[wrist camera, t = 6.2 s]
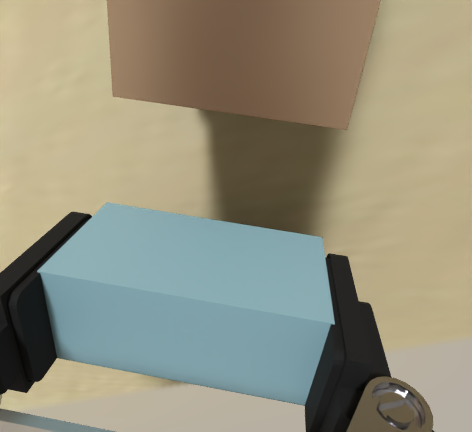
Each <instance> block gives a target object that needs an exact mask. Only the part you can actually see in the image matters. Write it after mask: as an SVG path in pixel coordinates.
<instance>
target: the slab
mask: <svg viewBox="0 0 472 432" xmlns="http://www.w3.org/2000/svg"><path fill="white" fill-rule="evenodd" d="M380 2H381V0H107V9H108V25H109V42H110V58H111V75H112V91H113V97H120V98H127V99H134V100H141V101H148V102H155V103H162V104H169V105H176V106H183V107H190V108H197V109H204V110H211V111H218V112H225V113H232V114H239V115H246V116H253V117H260V118H267V119H274V120H281V121H288V122H295V123H302V124H309V125H316V126H323V127H330V128H337V129H344V130H347V128H348V125H349V121H350V117H351V113H352V109H353V105H354V102H355V98H356V94H357V90H358V86H359V82H360V78H361V75H362V71H363V67H364V63H365V59H366V55H367V52H368V48H369V44H370V40H371V36H372V32H373V29H374V25H375V21H376V17H377V13H378V9H379V5H380Z"/></svg>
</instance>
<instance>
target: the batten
mask: <svg viewBox="0 0 472 432" xmlns="http://www.w3.org/2000/svg"><path fill="white" fill-rule="evenodd" d="M37 272H39V273H40V274H41V279H42V284H43V289H44V294H45V299H46V304H47V309H48V314H49V319H50V324H51V329H52V334H53V339H54V344H55V349H56V354H57V358H60V359H65V360H71V361H76V362H81V363H86V364H91V365H97V366H102V367H107V368H112V369H117V370H123V371H128V372H133V373H138V374H143V375H148V376H154V377H159V378H164V379H169V380H174V381H180V382H185V383H190V384H195V385H200V386H206V387H211V388H216V389H221V390H226V391H231V392H237V393H242V394H247V395H252V396H257V397H263V398H268V399H273V400H278V401H283V402H289V403H294V404H299V405H304V406H305V403H306V400H307V397H308V394H309V391H310V388H311V385H312V381H313V378H314V375H315V372H316V369H317V366H318V363H319V360H320V357H321V354H322V351H323V347H324V344H325V341H326V338H327V335H328V332H329V329H330V326H331V324H334V325H335V321H334V314H333V308H332V301H331V294H330V287H329V280H328V273H327V266H326V259H325V253H324V246H323V239H322V237H318V236H312V235H305V234H299V233H293V232H287V231H281V230H274V229H268V228H262V227H256V226H250V225H243V224H237V223H231V222H225V221H219V220H213V219H206V218H200V217H194V216H188V215H182V214H175V213H169V212H163V211H157V210H151V209H144V208H138V207H132V206H126V205H120V204H114V203H106V204H105V205H104V206H103V207H102V208H101V209H100V210H99V211H98V212H97V213H96V214H95V215H94V216H93V217H92V218H91V219H90V220H89V221H88V222H87V223H86V224H85V225H83V226H82V227H81V228H80V229H79V230H78V231H77V232H76V233H75V234H74V235H73V236H72V237H71V238H70V239H69V240H68V241H67V242H66V243H65V244H64V245H63V246H62V247H61V248H60V249H59V250H58V251H57V252H56V253H55V254H54V255H53V256H52V257H51V258H50V259H49V260H48V261H47V262H46V263H45V264H44V265H43V266H42V267H41V268H40V269H39V270H38V271H37Z"/></svg>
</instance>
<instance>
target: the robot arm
mask: <svg viewBox="0 0 472 432" xmlns="http://www.w3.org/2000/svg"><path fill="white" fill-rule="evenodd" d="M91 218H92V216H91V215H90V214H84V213H78V212H71V213H69V214H68V215H67V216H66V217H64V218H63V219H62V220H61V221H60V222H59V223H58V224H56V225H55V226H54V227H53V228H52V229H51V230H49V231H48V232H47V233H46V234H45V235H44V236H42V237H41V238H40V239H39V240H38V241H37V242H36V243H34V244H33V245H32V246H31V247H30V248H29V249H27V250H26V251H25V252H24V253H23V254H22V255H21V256H19V257H18V258H17V259H16V260H15V261H14V262H12V263H11V264H10V265H9V266H8V267H7V268H5V269H4V270H3V271H2V272H1V273H0V403H1V399H2V394H3V393H5V392H6V391H7V390H8V389H9V390H14V391H19V392H25V393H27V392H28V391H29V389H30V388H31V386H32V385H33V384H34V382H35V381H36V382H38V381H40V380H41V379H42V378H43V377H44V376H45V374H46V373H47V371H48V370H49V368H50V367H51V366H52V364H53V363H54V361H55V360H56V358H57V354H56V349H55V344H54V339H53V334H52V329H51V324H50V319H49V314H48V309H47V304H46V299H45V294H44V289H43V284H42V279H41V274H40V273H39V272H37V271H38V270H39V269H40V268H41V267H42V266H43V265H44V264H45V263H46V262H47V261H48V260H49V259H50V258H51V257H52V256H53V255H54V254H55V253H56V252H57V251H58V250H59V249H60V248H61V247H62V246H63V245H64V244H65V243H66V242H67V241H68V240H69V239H70V238H71V237H72V236H73V235H74V234H75V233H76V232H77V231H78V230H79V229H80V228H81V227H82V226H83V225H85V224H86V223H87V222H88V221H89V220H90V219H91ZM325 259H326V266H327V273H328V280H329V287H330V294H331V301H332V308H333V314H334V321H335V325H334V324H331V326H330V329H329V332H328V335H327V338H326V341H325V344H324V347H323V351H322V354H321V357H320V360H319V363H318V366H317V369H316V372H315V375H314V378H313V381H312V385H311V388H310V391H309V394H308V397H307V400H306V403H305V422H306V432H434V431H433V430H432V428H433V415H432V412H431V410H430V407H429V405H428V404H427V402H426V401H425V399H424V398H423V397H422V396H421V395H420V394H419V393H418V392H417V391H416V390H415V389H414V388H413V387H411V386H410V385H408V384H407V383H405V382H403V381H401V380H398V379H396V378H392V377H391V375H390V371H389V368H388V364H387V360H386V357H385V353H384V350H383V346H382V343H381V339H380V335H379V332H378V328H377V325H376V321H375V318H374V314H373V311H372V308H371V305H370V304H369V303H365V302H360V301H358V297H357V293H356V289H355V285H354V281H353V277H352V272H351V268H350V264H349V260H348V257H347V256H342V255H336V254H328V255H327V258H325ZM0 432H114V431H109V430H105V429H100V428H95V427H90V426H85V425H79V424H75V423H70V422H65V421H60V420H55V419H50V418H45V417H40V416H35V415H30V414H25V413H20V412H15V411H10V410H5V409H0Z"/></svg>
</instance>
